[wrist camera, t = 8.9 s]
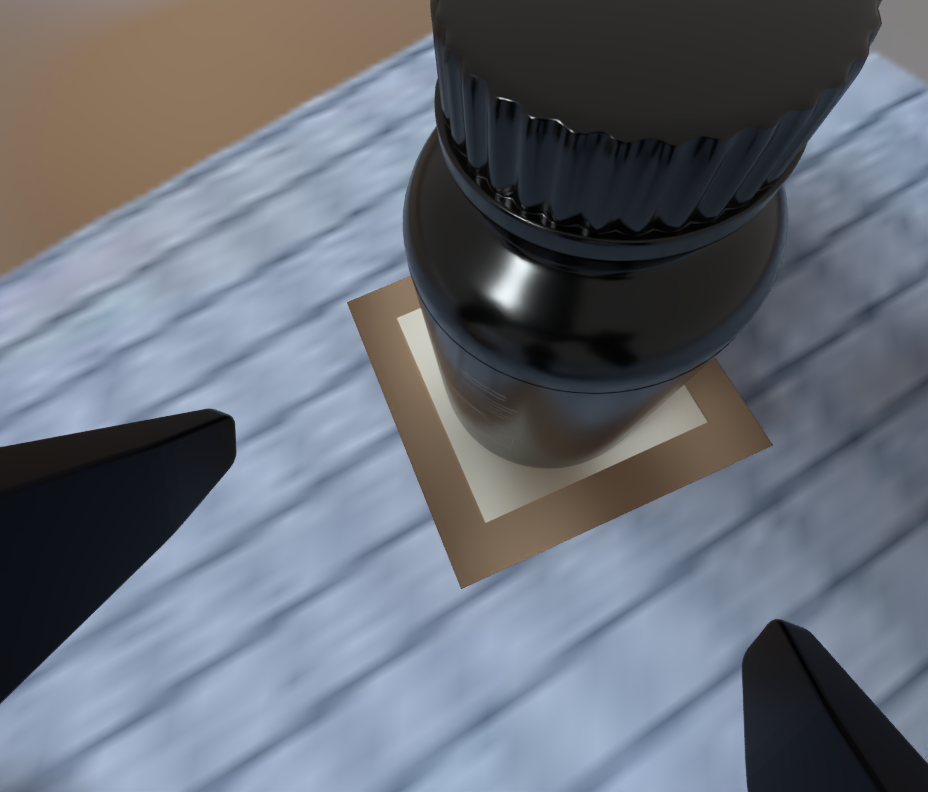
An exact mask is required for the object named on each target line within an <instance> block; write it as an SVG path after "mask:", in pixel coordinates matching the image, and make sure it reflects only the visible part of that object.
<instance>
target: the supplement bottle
mask: <svg viewBox="0 0 928 792" xmlns="http://www.w3.org/2000/svg"><path fill="white" fill-rule="evenodd" d="M881 1H882V0H431V3H430V7H431V18H432V27H433V38H434V48H435V57H436V65H437V74H438V79H437V83H436V87H435V117H436V124H437V126H436V127H435V129H434V130H433V132H432V133H431V135H430V136H429V138H428V139H427V141H426V143H425V144H424V146H423V148H422V150H421V152H420V154H419V156H418V158H417V160H416V163H415V165H414V168H413V171H412V173H411V176H410V179H409V183H408V187H407V190H406V194H405V201H404V208H403V237H404V246H405V251H406V256H407V261H408V266H409V270H410V274H411V278H412V281H413V285H414V288H415V291H416V295H417V298H418V301H419V304H420V308H421V311H422V314H423V318H424V321H425V324H426V328H427V331H428V334H429V338H430V341H431V344H432V347H433V351H434V354H435V357H436V361H437V364H438V367H439V371H440V374H441V377H442V380H443V384H444V387H445V390H446V393H447V396H448V398H449V401H450V404H451V406H452V408H453V410H454V412H455V414H456V416H457V417H458V419H459V421H460V422H461V424H462V425H463V426H464V428H465V429H466V430H467V432H468V433H469V434H470V435H471V436H472V437H473V438H474V439H475V440H476V441H477V442H478V443H480V444H481V445H482V446H483V447H485V448H486V449H487V450H489V451H490V452H492V453H494V454H495V455H497V456H499V457H501V458H503V459H506V460H508V461H511V462H513V463H516V464H520V465H524V466H528V467H534V468H546V469H551V468H564V467H570V466H574V465H579V464H582V463H585V462H587V461H590V460H592V459H594V458H596V457H599V456H601V455H602V454H604V453H606V452H607V451H609V450H610V449H612V448H613V447H614V446H616V445H617V444H618V443H619V442H621V441H622V440H623V439H624V438H626V437H627V436H628V435H629V434H630V433H631V432H632V431H633V430H635V429H636V428H637V427H638V426H639V425H640V424H641V423H642V422H643V421H644V420H646V419H647V418H648V417H649V416H650V415H651V414H652V413H653V412H654V411H656V410H657V409H658V408H659V407H660V406H661V405H662V404H663V403H664V402H665V401H667V400H668V399H669V398H670V397H671V396H672V395H673V394H674V393H675V392H677V391H678V390H679V389H680V388H681V387H682V386H683V385H684V384H685V383H686V382H688V381H689V380H690V379H691V378H692V377H693V376H694V375H695V374H696V373H698V372H699V371H700V370H701V369H702V368H703V367H704V366H705V365H706V364H707V363H709V362H710V361H711V360H712V359H713V358H714V357H715V356H716V355H717V354H718V353H719V352H720V351H722V350H723V349H724V348H725V347H726V346H727V345H728V344H729V343H730V342H731V341H732V340H733V339H734V338H735V337H736V336H737V335H738V334H739V333H740V332H741V331H742V329H743V328H744V327H745V326H746V325H747V324H748V322H749V321H750V320H751V319H752V318H753V316H754V315H755V314H756V313H757V311H758V310H759V308H760V307H761V305H762V304H763V302H764V301H765V299H766V298H767V296H768V294H769V292H770V290H771V288H772V286H773V283H774V281H775V279H776V277H777V274H778V271H779V268H780V265H781V262H782V258H783V253H784V248H785V243H786V235H787V222H788V218H787V199H786V193H785V188H784V182H785V181H786V179H787V178H788V177H789V175H790V174H791V173H792V171H793V170H794V168H795V167H796V165H797V164H798V162H799V160H800V158H801V156H802V154H803V152H804V150H805V147H806V145H807V142H808V141H809V139H810V138H811V137H812V136H813V134H814V133H815V132H816V130H817V129H818V128H819V126H820V125H821V124H822V122H823V121H824V120H825V118H826V117H827V116H828V114H829V113H830V112H831V110H832V109H833V108H834V106H835V105H836V104H837V103H838V101H839V100H840V99H841V97H842V96H843V95H844V93H845V92H846V91H847V89H848V88H849V87H850V85H851V84H852V82H853V81H854V80H855V78H856V77H857V75H858V74H859V72H860V71H861V69H862V67H863V65H864V63H865V61H866V59H867V57H868V55H869V47H870V45H871V44H872V42H873V41H874V39H875V37H876V35H877V33H878V31H879V29H880V27H881V24H882V22H881V17H880V13H879V10H878V7H879V5H880V3H881Z"/></svg>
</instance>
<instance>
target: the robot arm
mask: <svg viewBox="0 0 928 792" xmlns="http://www.w3.org/2000/svg"><path fill="white" fill-rule="evenodd" d="M235 457H236V432H235V421H234V419H233V417H232V416H230V415H229V414H226V413H223V412H220V411H218V410H215V409H203V410H198V411H192V412H187V413H182V414H176V415H171V416H166V417H160V418H155V419H149V420H144V421H139V422H133V423H128V424H123V425H117V426H112V427H106V428H101V429H96V430H90V431H85V432H80V433H74V434H69V435H63V436H58V437H53V438H47V439H42V440H37V441H31V442H26V443H20V444H15V445H10V446H4V447H0V704H1V703H2V702H3V701H4V700H5V699H6V698H7V697H8V696H9V695H10V694H11V693H12V692H13V691H14V690H15V689H16V688H17V687H18V686H19V685H20V684H21V683H22V682H23V681H24V680H25V679H26V678H27V677H28V676H29V675H30V674H31V673H32V672H33V671H35V670H36V669H37V668H38V667H39V666H40V665H41V664H42V663H43V662H44V661H45V660H46V659H47V658H48V657H49V656H50V655H51V654H52V653H53V652H54V651H55V650H56V649H57V648H58V647H59V646H60V645H61V644H62V643H63V642H64V641H65V640H66V639H67V638H68V637H69V636H70V635H71V634H72V633H73V632H74V631H75V630H76V629H77V628H79V627H80V626H81V625H82V624H83V623H84V622H85V621H86V620H87V619H88V618H89V617H90V616H91V615H92V614H93V613H94V612H95V611H96V610H97V609H98V608H99V607H100V606H101V605H102V604H103V603H104V602H105V601H106V600H107V599H108V598H109V597H110V596H111V595H112V594H113V593H114V592H115V591H116V590H117V589H118V588H119V587H120V586H122V585H123V584H124V583H125V582H126V581H127V580H128V579H129V578H130V577H131V576H132V575H133V574H134V573H135V572H136V571H137V570H138V569H139V568H140V567H141V566H142V565H143V564H144V563H145V562H146V561H147V560H148V559H149V558H150V557H151V556H152V555H153V554H154V553H155V552H156V551H157V550H158V549H159V548H160V547H161V546H162V545H163V544H164V543H165V542H166V541H167V540H168V539H169V538H170V537H171V536H172V535H173V534H174V533H175V532H176V531H177V530H178V529H179V527H180V526H181V525H182V524H183V523H184V522H185V521H186V519H187V518H188V517H189V516H190V515H191V514H192V512H193V511H194V510H195V509H196V508H197V506H198V505H199V504H200V503H201V502H202V501H203V499H204V498H205V497H206V496H207V495H208V494H209V492H210V491H211V490H212V489H213V488H214V486H215V485H216V484H217V483H218V482H219V481H220V479H221V478H222V477H223V476H224V475H225V473H226V472H227V471H228V470H229V469H230V467H231V466H232V464H233V463H234V460H235ZM742 685H743V711H744V738H745V763H746V778H747V788H748V792H928V763H927V762H926V761H925V760H924V759H923V758H922V757H921V755H920V754H919V753H918V752H917V751H916V750H915V749H914V748H913V746H912V745H911V744H910V743H909V742H908V741H907V740H906V739H905V737H904V736H903V735H902V734H901V733H900V732H899V731H898V730H897V728H896V727H895V726H894V725H893V724H892V723H891V722H890V721H889V719H888V718H887V717H886V716H885V715H884V714H883V713H882V712H881V711H880V709H879V708H878V707H877V706H876V705H875V704H874V703H873V702H872V700H871V699H870V698H869V697H868V696H867V695H866V694H865V693H864V691H863V690H862V689H861V688H860V687H859V686H858V685H857V684H856V682H855V681H854V680H853V679H852V678H851V677H850V676H849V675H848V673H847V672H846V671H845V670H844V669H843V668H842V667H841V666H840V665H839V663H838V662H837V661H836V660H835V659H834V658H833V657H832V656H831V654H830V653H829V652H828V651H827V650H826V649H825V648H824V647H823V645H822V644H821V643H820V642H819V641H818V640H817V639H816V638H815V636H814V635H813V634H812V633H811V632H810V631H808V630H807V629H805V628H803V627H800V626H797V625H795V624H792V623H789V622H787V621H784V620H781V619H775V620H772V621H770V622H769V623H768V624H767V626H766V627H765V628H764V629H763V631H762V632H761V633H760V634H759V636H758V637H757V638H756V639H755V640H754V642H753V643H752V644H751V645H750V647H749V648H748V649H747V651H746V652H745V655H744V657H743V662H742Z"/></svg>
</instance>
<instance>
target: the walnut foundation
mask: <svg viewBox="0 0 928 792" xmlns="http://www.w3.org/2000/svg"><path fill="white" fill-rule="evenodd" d="M347 304H348V306H349V309H350V311H351V314H352V316H353V319H354V321H355V324H356V326H357V329H358V331H359V334H360V336H361V339H362V341H363V344H364V346H365V349H366V351H367V354H368V356H369V359H370V361H371V364H372V366H373V369H374V371H375V374H376V376H377V379H378V381H379V384H380V386H381V389H382V392H383V394H384V397H385V399H386V402H387V404H388V407H389V409H390V412H391V414H392V417H393V419H394V422H395V424H396V427H397V429H398V432H399V434H400V437H401V439H402V442H403V444H404V447H405V449H406V452H407V454H408V457H409V459H410V462H411V464H412V467H413V469H414V472H415V474H416V477H417V479H418V482H419V484H420V487H421V489H422V492H423V494H424V497H425V499H426V502H427V504H428V507H429V509H430V512H431V514H432V517H433V520H434V522H435V525H436V527H437V530H438V532H439V535H440V537H441V540H442V542H443V545H444V547H445V550H446V552H447V555H448V557H449V560H450V562H451V565H452V567H453V570H454V572H455V575H456V577H457V580H458V582H459V585H460V587H461V589H462V588H465V587H467V586H469V585H471V584H473V583H475V582H478V581H480V580H482V579H484V578H486V577H489V576H491V575H493V574H495V573H497V572H499V571H502V570H504V569H506V568H508V567H510V566H512V565H515V564H517V563H519V562H521V561H523V560H525V559H528V558H530V557H532V556H534V555H536V554H538V553H541V552H543V551H545V550H547V549H549V548H551V547H554V546H556V545H558V544H560V543H562V542H564V541H567V540H569V539H571V538H573V537H575V536H577V535H580V534H582V533H584V532H586V531H588V530H590V529H593V528H595V527H597V526H599V525H601V524H603V523H606V522H608V521H610V520H612V519H614V518H616V517H619V516H621V515H623V514H625V513H627V512H629V511H632V510H634V509H636V508H638V507H640V506H642V505H645V504H647V503H649V502H651V501H653V500H655V499H658V498H660V497H662V496H664V495H666V494H669V493H671V492H673V491H675V490H677V489H679V488H682V487H684V486H686V485H688V484H690V483H692V482H695V481H697V480H699V479H701V478H703V477H705V476H708V475H710V474H712V473H714V472H716V471H718V470H721V469H723V468H725V467H727V466H729V465H731V464H734V463H736V462H738V461H740V460H742V459H744V458H747V457H749V456H751V455H753V454H755V453H757V452H760V451H762V450H764V449H766V448H768V447H770V446H773V444H772V443H771V441H770V440H769V438H768V437H767V435H766V434H765V432H764V431H763V429H762V428H761V426H760V425H759V423H758V422H757V420H756V419H755V417H754V416H753V414H752V413H751V411H750V410H749V408H748V407H747V405H746V404H745V402H744V401H743V399H742V398H741V396H740V395H739V393H738V392H737V390H736V388H735V387H734V385H733V384H732V382H731V381H730V379H729V378H728V376H727V375H726V373H725V372H724V370H723V369H722V367H721V366H720V364H719V363H718V361H717V360H716V358H715V357H714V358H713V359H712V360H711V361H710V362H709V363H707V364H706V365H705V366H704V367H703V368H702V369H701V370H700V371H699V372H698V373H696V374H695V375H694V376H693V377H692V378H691V379H690V380H689V381H688V382H686V383H685V384H684V385H683V386H682V387H681V388H680V389H679V390H678V391H677V392H675V393H674V394H673V395H672V396H671V397H670V398H669V399H668V400H667V401H665V402H664V403H663V404H662V405H661V406H660V407H659V408H658V409H657V410H656V411H654V412H653V413H652V414H651V415H650V416H649V417H648V418H647V419H646V420H644V421H643V422H642V423H641V424H640V425H639V426H638V427H637V428H636V429H635V430H633V431H632V432H631V433H630V434H629V435H628V436H627V437H626V438H624V439H623V440H622V441H621V442H619V443H618V444H617V445H616V446H614V447H613V448H612V449H610V450H609V451H607V452H606V453H604V454H602V455H601V456H599V457H596V458H594V459H592V460H590V461H587V462H585V463H582V464H579V465H574V466H570V467H564V468H551V469H546V468H534V467H528V466H524V465H520V464H516V463H513V462H511V461H508V460H506V459H503V458H501V457H499V456H497V455H495V454H494V453H492V452H490V451H489V450H487V449H486V448H485V447H483V446H482V445H481V444H480V443H478V442H477V441H476V440H475V439H474V438H473V437H472V436H471V435H470V434H469V433H468V432H467V430H466V429H465V428H464V426H463V425H462V424H461V422H460V421H459V419H458V417H457V416H456V414H455V412H454V410H453V408H452V406H451V404H450V401H449V398H448V396H447V393H446V390H445V387H444V384H443V380H442V377H441V374H440V371H439V367H438V364H437V361H436V357H435V354H434V351H433V347H432V344H431V341H430V338H429V334H428V331H427V328H426V324H425V321H424V318H423V314H422V311H421V308H420V304H419V301H418V298H417V295H416V291H415V288H414V285H413V281H412V278H411V276H409V277H407V278H404V279H402V280H399V281H397V282H395V283H392V284H390V285H387V286H385V287H383V288H380V289H378V290H375V291H373V292H371V293H368V294H366V295H363V296H361V297H359V298H356V299H354V300H351V301H349V302H347Z"/></svg>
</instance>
